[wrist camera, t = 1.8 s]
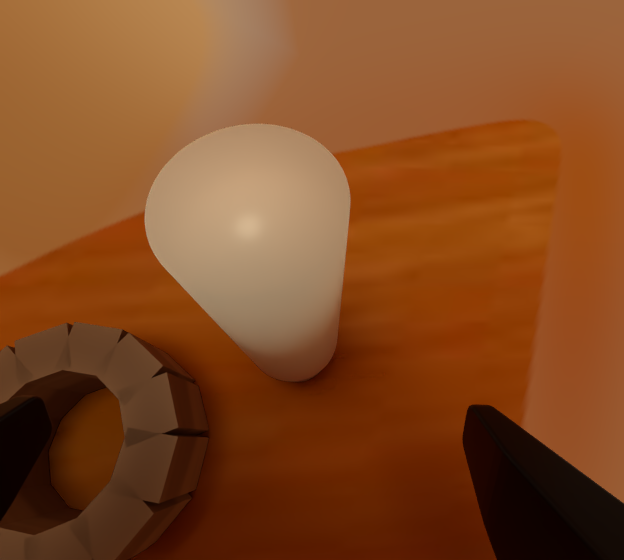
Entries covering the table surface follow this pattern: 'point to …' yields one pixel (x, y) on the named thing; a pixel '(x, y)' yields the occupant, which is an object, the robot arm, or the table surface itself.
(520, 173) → the table surface
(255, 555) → the table surface
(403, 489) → the table surface
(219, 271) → the tapered rounded pillar
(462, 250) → the table surface
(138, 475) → the segmented block ring
